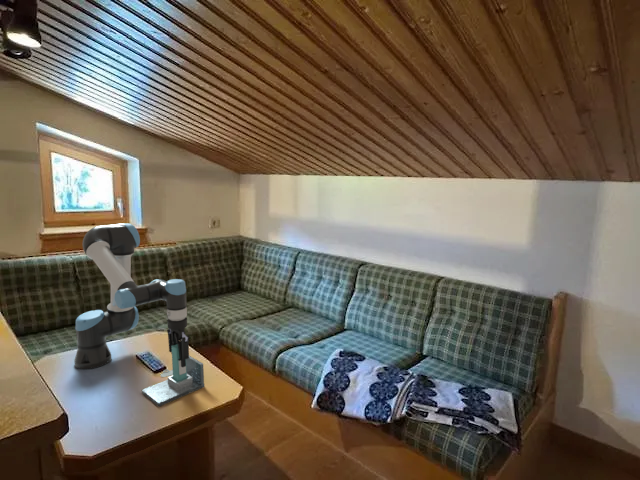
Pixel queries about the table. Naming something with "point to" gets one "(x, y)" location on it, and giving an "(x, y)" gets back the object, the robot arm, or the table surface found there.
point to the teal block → (176, 365)
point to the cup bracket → (177, 384)
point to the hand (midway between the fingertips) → (179, 371)
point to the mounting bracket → (167, 373)
